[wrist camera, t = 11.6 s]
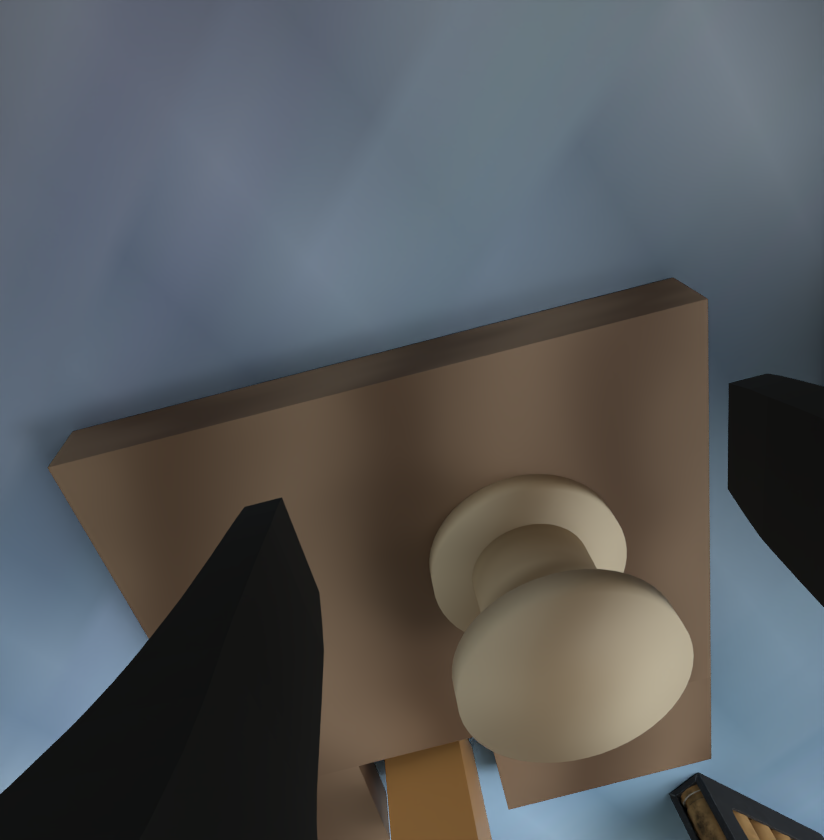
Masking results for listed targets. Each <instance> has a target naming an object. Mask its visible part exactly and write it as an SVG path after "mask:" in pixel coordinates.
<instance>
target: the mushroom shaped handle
mask: <svg viewBox="0 0 824 840" xmlns="http://www.w3.org/2000/svg"><path fill="white" fill-rule="evenodd" d="M626 558H627V547H626V541H625V537H624V534H623V531H622V528H621V527H620V525H619V523H618V522H617V520H616V518H615V517H614V515H613V514H612V512H611V510H610V509H609V507H608V506H607V504H606V503H605V502H604V501H603V499H602V498H601V497H600V496H599V495H598V494H596V493H595V492H594V491H593V490H592V489H590V488H588V487H587V486H585V485H584V484H582V483H579V482H577V481H575V480H572V479H569V478H565V477H562V476H556V475H549V474H531V475H521V476H516V477H511V478H507V479H504V480H501V481H498V482H495V483H493V484H491V485H488V486H486V487H484V488H482V489H480V490H479V491H477V492H475V493H473V494H472V495H470V496H469V497H468V498H466V499H465V500H464V501H462V502H461V503H460V504H459V505H458V506H457V507H456V508H455V509H453V511H452V512H451V513H450V514H449V515H448V516H447V518H446V519H445V520H444V522H443V523H442V525H441V526H440V528H439V529H438V531H437V534H436V536H435V538H434V540H433V544H432V547H431V551H430V558H429V568H430V574H431V579H432V584H433V589H434V594H435V598H436V600H437V603H438V605H439V607H440V609H441V610H442V612H443V614H444V615H445V616H446V617H447V619H448V620H449V621H450V622H451V623H452V624H454V625H455V626H456V627H457V628H459V629H460V630H462V631H463V632H464V634H463V636H462V638H461V640H460V642H459V643H458V646H457V649H456V651H455V654H454V658H453V664H452V681H453V686H454V691H455V696H456V701H457V705H458V710H459V715H460V717H461V720H462V722H463V724H464V726H465V727H466V729H467V730H468V732H469V733H470V734H471V735H472V736H473V738H474V739H475V740H476V741H478V742H479V743H480V744H482V745H483V746H484V747H486V748H487V749H489V750H491V751H493V752H495V753H497V754H500V755H502V756H505V757H508V758H511V759H515V760H519V761H526V762H535V763H559V762H567V761H574V760H579V759H584V758H588V757H592V756H595V755H599V754H602V753H605V752H607V751H610V750H612V749H615V748H617V747H619V746H621V745H623V744H625V743H628V742H629V741H631V740H633V739H635V738H636V737H638V736H640V735H641V734H643V733H644V732H646V731H647V730H648V729H650V728H651V727H653V726H654V725H655V724H656V723H657V722H658V721H660V720H661V719H662V718H663V717H664V716H665V715H666V714H667V713H668V712H669V711H670V710H671V709H672V707H673V706H674V705H675V703H676V702H677V701H678V700H679V698H680V697H681V695H682V693H683V691H684V690H685V688H686V686H687V683H688V681H689V679H690V676H691V672H692V668H693V658H694V654H693V645H692V642H691V639H690V636H689V633H688V632H687V630H686V628H685V626H684V625H683V623H682V621H681V620H680V618H679V617H678V615H677V614H676V612H675V611H674V609H673V607H672V606H671V604H670V603H669V601H668V600H667V599H666V598H665V597H664V595H663V594H662V593H661V592H660V591H659V590H657V589H656V588H655V587H654V586H652V585H651V584H649V583H647V582H645V581H644V580H642V579H640V578H637V577H635V576H632V575H630V574H626V573H623V572H624V569H625V565H626Z"/></svg>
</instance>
